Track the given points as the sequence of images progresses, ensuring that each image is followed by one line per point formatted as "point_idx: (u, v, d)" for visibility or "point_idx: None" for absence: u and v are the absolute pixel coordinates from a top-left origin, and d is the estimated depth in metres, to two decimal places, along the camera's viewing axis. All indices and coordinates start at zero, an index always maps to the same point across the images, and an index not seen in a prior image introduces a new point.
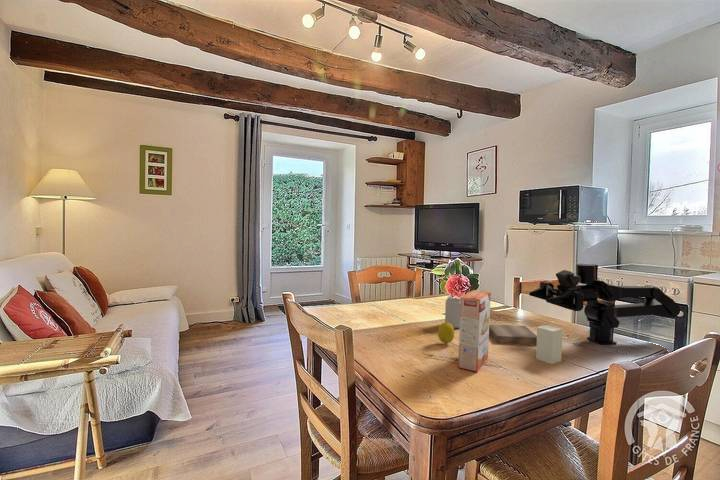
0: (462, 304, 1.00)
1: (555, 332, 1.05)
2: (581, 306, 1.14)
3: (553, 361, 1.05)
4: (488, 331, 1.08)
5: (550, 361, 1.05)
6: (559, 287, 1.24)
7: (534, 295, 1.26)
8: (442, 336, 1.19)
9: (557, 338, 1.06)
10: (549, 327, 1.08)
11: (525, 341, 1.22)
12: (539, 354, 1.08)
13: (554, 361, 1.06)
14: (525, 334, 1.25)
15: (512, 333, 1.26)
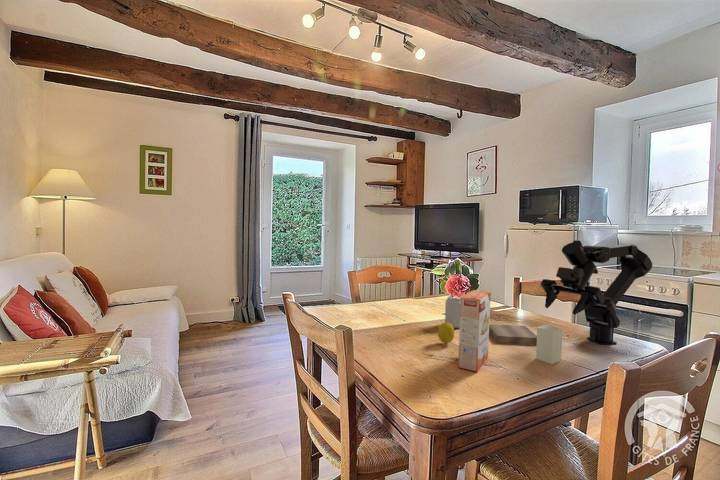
0: (462, 304, 1.00)
1: (555, 332, 1.05)
2: (603, 297, 1.09)
3: (553, 361, 1.05)
4: (488, 331, 1.08)
5: (550, 361, 1.05)
6: (564, 283, 1.18)
7: (549, 304, 1.19)
8: (442, 336, 1.19)
9: (557, 338, 1.06)
10: (549, 327, 1.08)
11: (525, 341, 1.22)
12: (539, 354, 1.08)
13: (554, 361, 1.06)
14: (525, 334, 1.25)
15: (512, 333, 1.26)
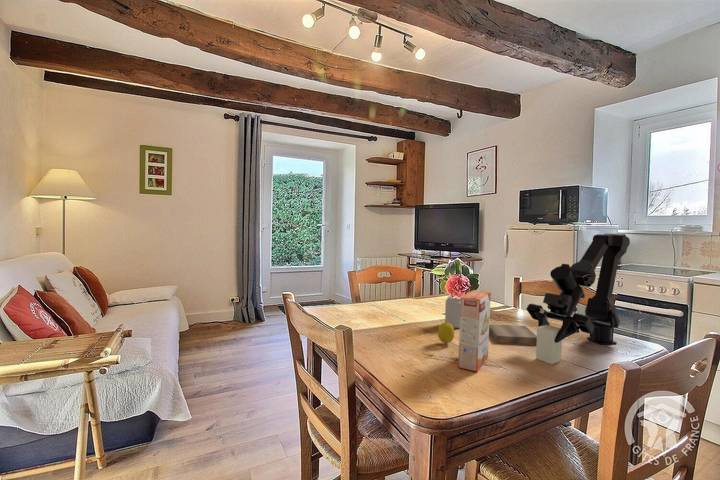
0: (462, 304, 1.00)
1: (555, 332, 1.05)
2: (592, 326, 1.03)
3: (553, 361, 1.05)
4: (488, 331, 1.08)
5: (550, 361, 1.05)
6: (551, 309, 1.11)
7: None
8: (442, 336, 1.19)
9: None
10: (549, 327, 1.08)
11: (525, 341, 1.22)
12: (539, 354, 1.08)
13: (554, 361, 1.06)
14: (525, 334, 1.25)
15: (512, 333, 1.26)
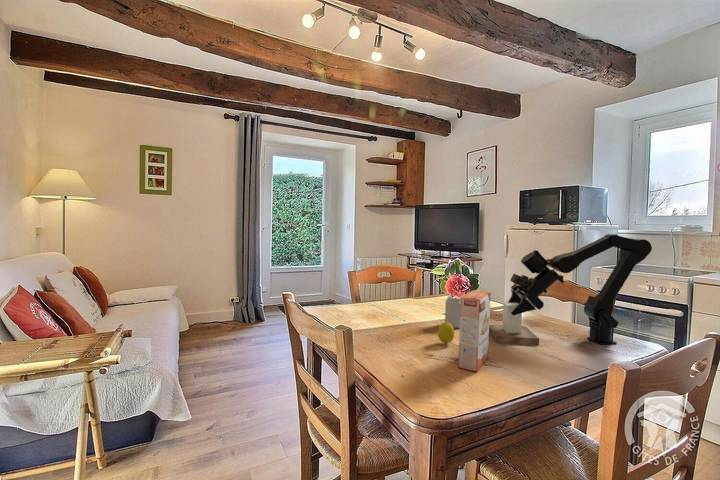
0: (462, 304, 1.00)
1: (511, 307, 1.26)
2: (540, 303, 1.19)
3: (509, 330, 1.27)
4: (488, 331, 1.08)
5: (506, 330, 1.27)
6: (522, 288, 1.30)
7: None
8: (442, 336, 1.19)
9: None
10: (513, 303, 1.29)
11: (525, 341, 1.22)
12: (503, 325, 1.31)
13: (510, 331, 1.27)
14: (525, 334, 1.25)
15: (512, 334, 1.26)
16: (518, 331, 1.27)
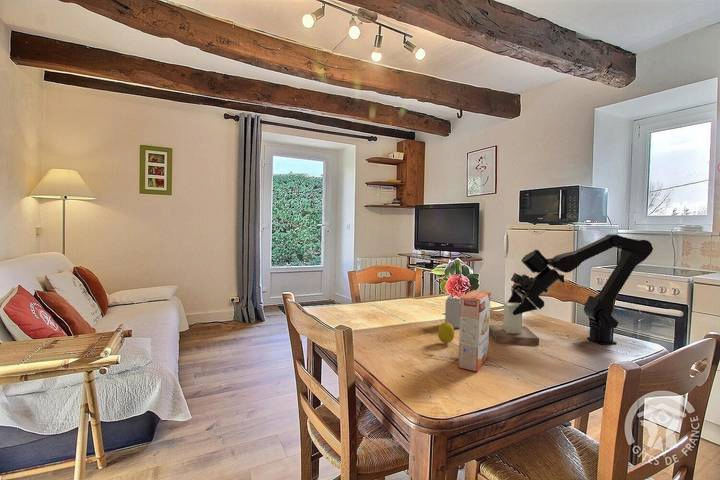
0: (462, 304, 1.00)
1: (511, 307, 1.26)
2: (540, 303, 1.19)
3: (509, 331, 1.27)
4: (488, 331, 1.08)
5: (506, 330, 1.27)
6: (522, 287, 1.30)
7: None
8: (442, 336, 1.19)
9: None
10: (514, 304, 1.29)
11: (525, 341, 1.22)
12: (504, 324, 1.31)
13: (511, 331, 1.27)
14: (525, 334, 1.25)
15: (512, 333, 1.26)
16: (518, 331, 1.26)
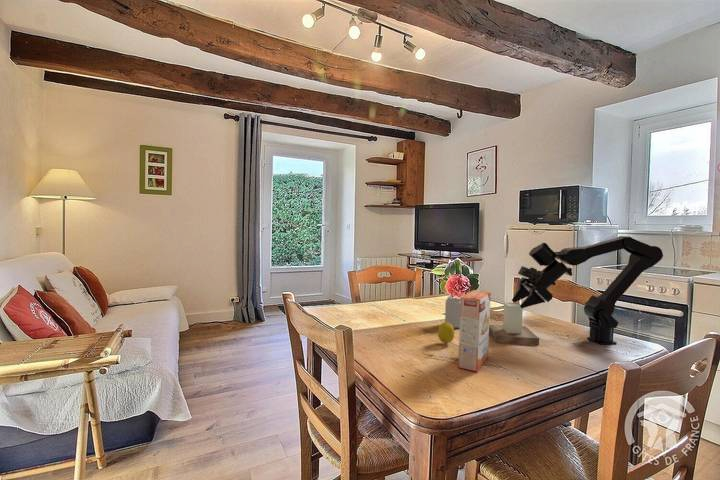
0: (462, 304, 1.00)
1: (511, 307, 1.26)
2: (549, 296, 1.18)
3: (509, 331, 1.27)
4: (488, 331, 1.08)
5: (507, 330, 1.27)
6: (530, 281, 1.29)
7: (517, 299, 1.33)
8: (442, 336, 1.19)
9: (515, 312, 1.26)
10: (514, 304, 1.29)
11: (525, 341, 1.22)
12: (504, 325, 1.31)
13: (511, 331, 1.27)
14: (525, 334, 1.25)
15: (512, 333, 1.26)
16: (519, 331, 1.26)
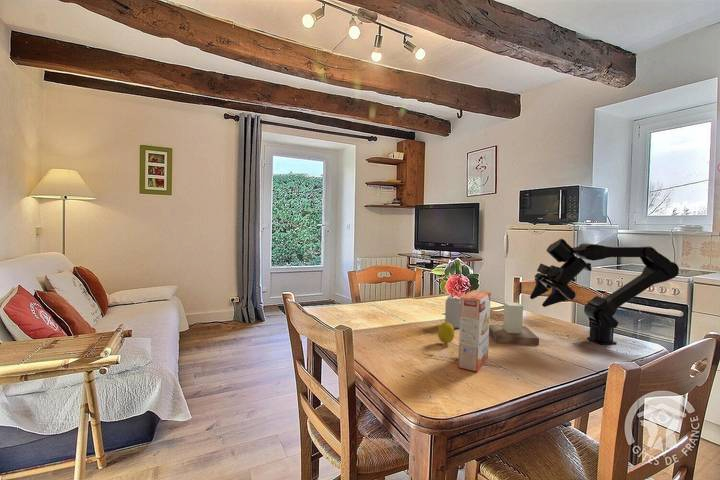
0: (462, 304, 1.00)
1: (512, 307, 1.26)
2: (572, 294, 1.17)
3: (510, 331, 1.27)
4: (488, 331, 1.08)
5: (507, 330, 1.27)
6: (549, 278, 1.28)
7: (535, 296, 1.32)
8: (442, 336, 1.19)
9: (515, 312, 1.26)
10: (514, 303, 1.29)
11: (525, 341, 1.22)
12: (504, 325, 1.31)
13: (511, 331, 1.27)
14: (525, 334, 1.25)
15: (512, 333, 1.26)
16: (519, 331, 1.26)
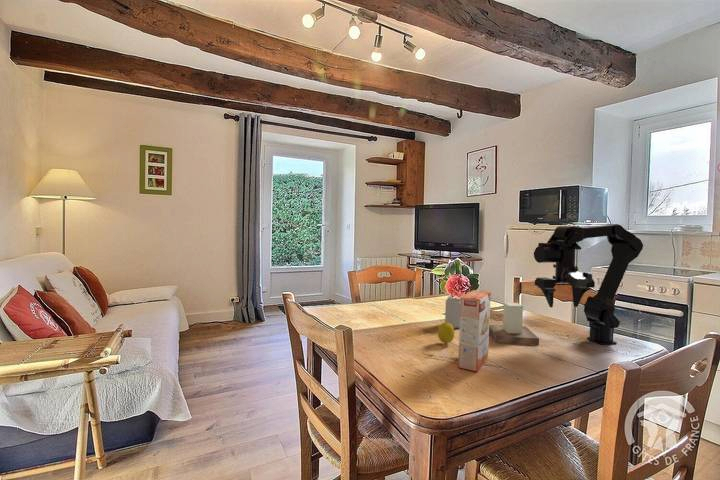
0: (462, 304, 1.00)
1: (512, 307, 1.26)
2: None
3: (510, 331, 1.26)
4: (488, 331, 1.08)
5: (507, 330, 1.27)
6: (564, 281, 1.19)
7: None
8: (442, 336, 1.19)
9: (515, 312, 1.26)
10: (513, 304, 1.29)
11: (525, 341, 1.22)
12: (504, 325, 1.30)
13: (511, 331, 1.26)
14: (525, 334, 1.25)
15: (512, 334, 1.26)
16: (519, 331, 1.26)
